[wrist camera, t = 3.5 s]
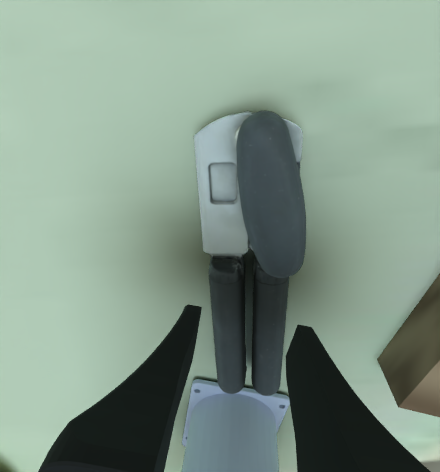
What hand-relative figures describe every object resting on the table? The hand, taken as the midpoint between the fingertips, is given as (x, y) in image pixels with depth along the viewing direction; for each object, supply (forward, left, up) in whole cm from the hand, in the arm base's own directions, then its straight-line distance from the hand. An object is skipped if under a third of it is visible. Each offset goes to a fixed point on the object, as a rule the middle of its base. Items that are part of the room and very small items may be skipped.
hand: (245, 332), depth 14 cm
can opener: (-1, 0, -7) cm, 7 cm away
